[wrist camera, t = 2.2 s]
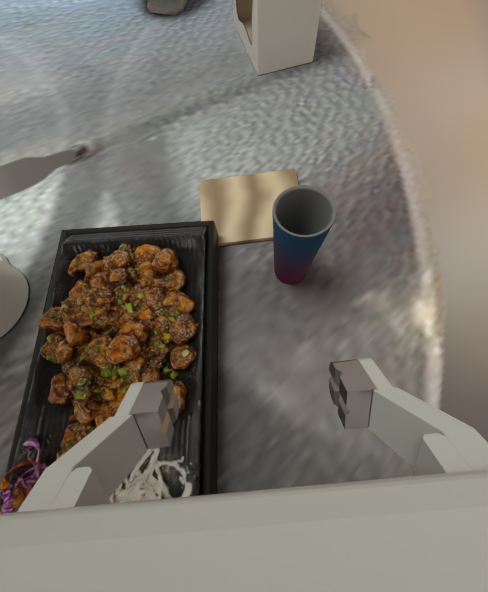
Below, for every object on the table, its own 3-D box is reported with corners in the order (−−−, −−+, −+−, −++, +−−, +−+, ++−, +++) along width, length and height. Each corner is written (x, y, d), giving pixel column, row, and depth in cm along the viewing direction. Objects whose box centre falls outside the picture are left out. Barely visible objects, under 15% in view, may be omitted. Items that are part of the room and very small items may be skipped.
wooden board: (203, 247, 44) (202, 245, 44) (200, 184, 49) (199, 180, 48) (308, 235, 44) (308, 232, 43) (294, 172, 49) (295, 168, 48)
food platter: (216, 576, 29) (194, 672, 20) (13, 574, 31) (-102, 662, 21) (218, 235, 44) (205, 193, 34) (80, 243, 45) (30, 205, 36)
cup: (264, 256, 43) (266, 191, 29) (304, 247, 43) (325, 179, 29) (274, 293, 41) (280, 243, 27) (316, 284, 41) (345, 229, 27)
